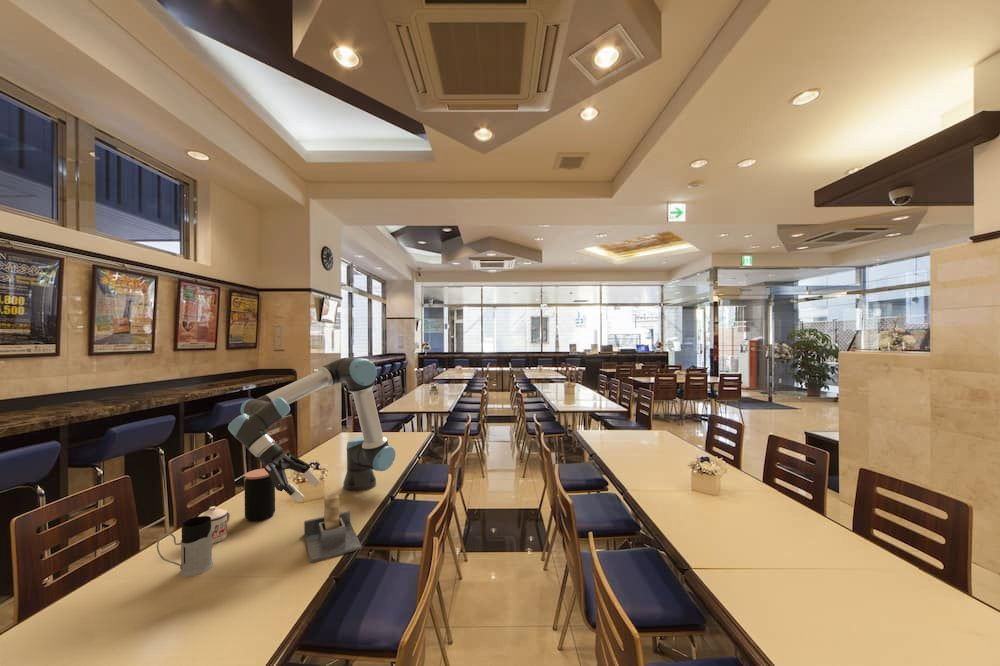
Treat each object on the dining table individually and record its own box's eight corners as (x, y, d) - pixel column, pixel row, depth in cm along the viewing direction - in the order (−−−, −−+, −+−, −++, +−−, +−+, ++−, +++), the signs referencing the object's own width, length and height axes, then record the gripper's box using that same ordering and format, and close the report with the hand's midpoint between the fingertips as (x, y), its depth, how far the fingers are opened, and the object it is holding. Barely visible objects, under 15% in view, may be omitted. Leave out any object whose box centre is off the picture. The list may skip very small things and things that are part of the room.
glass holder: (217, 567, 129) (217, 520, 129) (160, 588, 118) (160, 537, 118) (208, 557, 135) (208, 512, 135) (153, 577, 124) (153, 528, 124)
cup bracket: (349, 523, 158) (349, 508, 158) (361, 549, 139) (361, 531, 139) (304, 534, 150) (304, 518, 150) (310, 562, 131) (310, 544, 131)
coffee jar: (280, 511, 170) (280, 468, 170) (263, 523, 159) (263, 477, 159) (257, 510, 171) (256, 467, 171) (238, 522, 160) (238, 476, 160)
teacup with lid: (213, 546, 142) (213, 513, 142) (190, 545, 143) (190, 512, 143) (239, 529, 154) (239, 499, 154) (218, 528, 155) (217, 498, 155)
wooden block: (337, 534, 148) (337, 493, 148) (339, 539, 144) (339, 497, 144) (324, 537, 146) (324, 495, 146) (326, 542, 142) (325, 500, 142)
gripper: (277, 447, 157) (317, 485, 157) (237, 469, 132) (284, 514, 132) (291, 433, 157) (331, 471, 157) (253, 453, 132) (301, 498, 132)
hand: (310, 491), depth 144 cm, fingers open, 13 cm apart
